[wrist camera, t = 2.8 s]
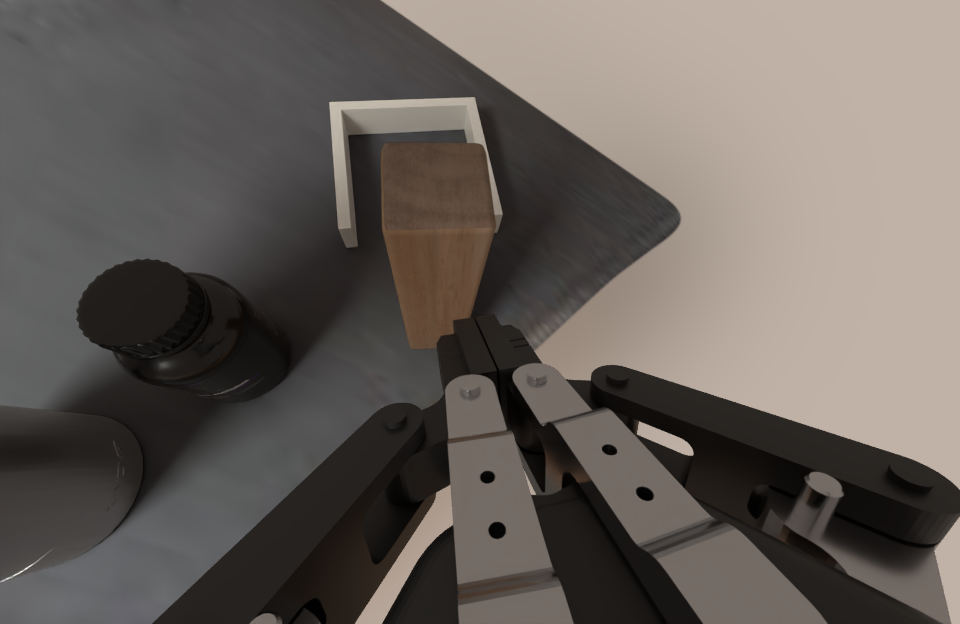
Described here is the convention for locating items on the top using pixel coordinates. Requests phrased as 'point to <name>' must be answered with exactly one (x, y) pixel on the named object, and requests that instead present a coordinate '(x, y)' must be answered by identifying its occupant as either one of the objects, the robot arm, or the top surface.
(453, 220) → the wooden block
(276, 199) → the top surface
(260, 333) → the supplement bottle
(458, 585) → the robot arm
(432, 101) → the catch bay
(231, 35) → the top surface
